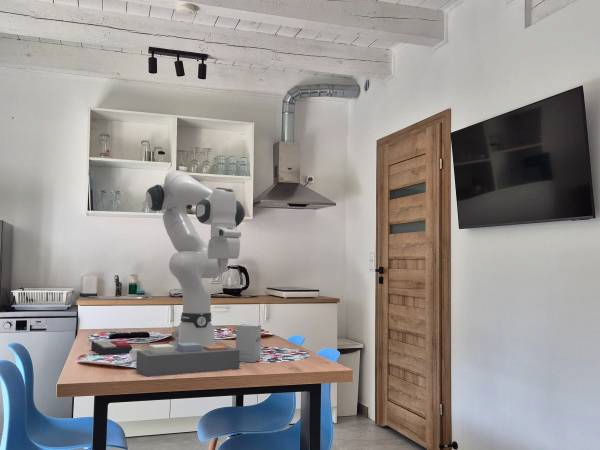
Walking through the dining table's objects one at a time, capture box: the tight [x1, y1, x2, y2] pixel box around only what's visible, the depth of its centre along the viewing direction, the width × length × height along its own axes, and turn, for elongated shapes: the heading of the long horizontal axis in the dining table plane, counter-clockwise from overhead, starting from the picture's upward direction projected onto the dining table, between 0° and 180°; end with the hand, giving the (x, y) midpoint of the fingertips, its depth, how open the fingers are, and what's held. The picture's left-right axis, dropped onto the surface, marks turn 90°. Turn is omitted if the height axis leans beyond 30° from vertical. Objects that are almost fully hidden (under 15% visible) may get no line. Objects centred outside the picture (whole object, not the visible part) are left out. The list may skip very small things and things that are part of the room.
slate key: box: [177, 343, 201, 353], centre depth 181 cm, size 6×6×4 cm
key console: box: [135, 345, 240, 377], centre depth 181 cm, size 12×30×6 cm, turn 121°
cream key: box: [148, 343, 174, 354], centre depth 177 cm, size 6×6×4 cm
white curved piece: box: [123, 348, 141, 363], centre depth 196 cm, size 9×8×4 cm
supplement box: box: [235, 323, 262, 363], centre depth 201 cm, size 7×7×13 cm
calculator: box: [90, 338, 133, 356], centre depth 215 cm, size 11×4×15 cm
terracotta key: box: [203, 344, 227, 351], centre depth 186 cm, size 6×6×4 cm
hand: (222, 271), depth 199 cm, fingers closed
